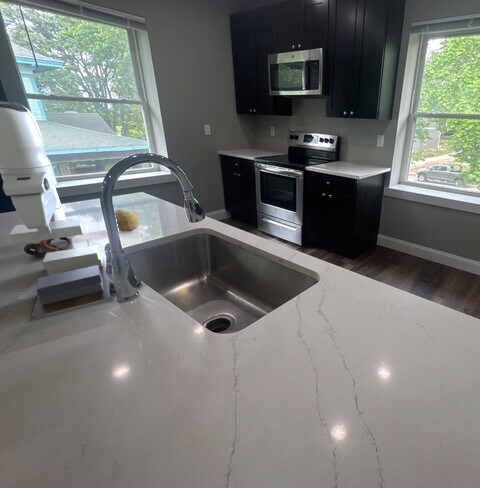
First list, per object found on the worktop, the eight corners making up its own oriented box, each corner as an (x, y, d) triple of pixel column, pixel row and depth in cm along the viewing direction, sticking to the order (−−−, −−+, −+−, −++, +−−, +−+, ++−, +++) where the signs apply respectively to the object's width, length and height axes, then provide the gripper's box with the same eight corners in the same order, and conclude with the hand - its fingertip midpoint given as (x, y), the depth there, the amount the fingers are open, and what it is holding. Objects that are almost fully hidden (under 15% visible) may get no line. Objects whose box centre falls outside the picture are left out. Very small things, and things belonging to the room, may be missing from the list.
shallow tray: (33, 322, 73) (30, 317, 72) (49, 266, 96) (47, 262, 96) (111, 302, 81) (109, 297, 80) (108, 255, 105) (107, 251, 104)
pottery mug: (66, 247, 109) (69, 231, 106) (73, 266, 106) (77, 250, 102) (20, 250, 100) (22, 232, 96) (26, 271, 96) (28, 253, 92)
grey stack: (41, 306, 76) (34, 289, 74) (45, 292, 82) (38, 276, 79) (104, 290, 83) (99, 275, 81) (104, 279, 88) (99, 264, 86)
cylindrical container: (62, 243, 112) (37, 176, 101) (43, 242, 111) (16, 175, 101) (77, 235, 118) (55, 172, 107) (59, 234, 118) (35, 171, 107)
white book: (13, 244, 69) (8, 234, 68) (18, 234, 74) (15, 225, 73) (83, 234, 76) (80, 225, 75) (84, 226, 81) (81, 217, 80)
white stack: (47, 277, 88) (41, 263, 86) (50, 267, 93) (45, 253, 91) (102, 266, 95) (98, 252, 93) (102, 257, 100) (98, 244, 98)
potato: (119, 238, 117) (113, 219, 114) (109, 228, 126) (104, 210, 122) (146, 232, 124) (141, 214, 120) (135, 222, 132) (131, 205, 129)
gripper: (21, 170, 75) (40, 221, 81) (0, 190, 60) (26, 251, 66) (53, 168, 78) (70, 218, 84) (41, 186, 63) (62, 245, 69)
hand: (50, 232), depth 75 cm, fingers closed on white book, 6 cm apart
